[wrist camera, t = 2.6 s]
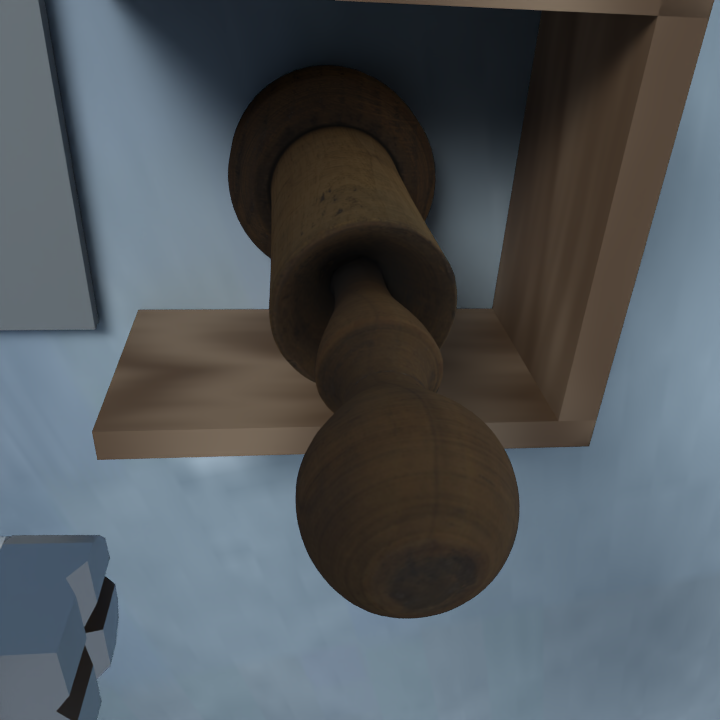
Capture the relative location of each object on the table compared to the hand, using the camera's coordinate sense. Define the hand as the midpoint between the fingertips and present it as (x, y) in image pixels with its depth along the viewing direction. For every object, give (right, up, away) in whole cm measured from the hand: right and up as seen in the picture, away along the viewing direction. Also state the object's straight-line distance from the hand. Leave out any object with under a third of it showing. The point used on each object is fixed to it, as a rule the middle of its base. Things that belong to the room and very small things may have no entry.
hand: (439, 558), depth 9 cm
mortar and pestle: (-2, +9, +15) cm, 18 cm away
